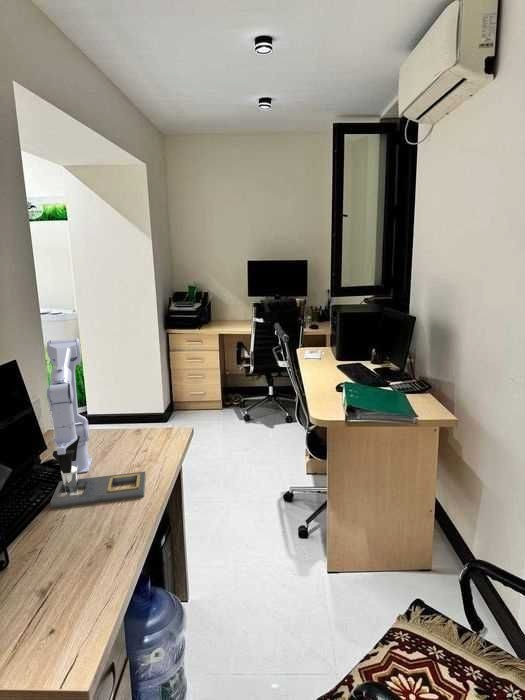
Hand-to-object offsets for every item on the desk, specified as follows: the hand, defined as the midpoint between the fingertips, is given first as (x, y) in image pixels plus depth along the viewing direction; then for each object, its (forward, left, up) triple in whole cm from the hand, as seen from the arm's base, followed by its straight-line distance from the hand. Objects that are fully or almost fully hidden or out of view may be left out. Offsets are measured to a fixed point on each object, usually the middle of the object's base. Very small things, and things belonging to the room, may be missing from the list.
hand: (69, 466), depth 137 cm
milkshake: (0, 0, -10) cm, 10 cm away
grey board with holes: (0, +8, -9) cm, 12 cm away
